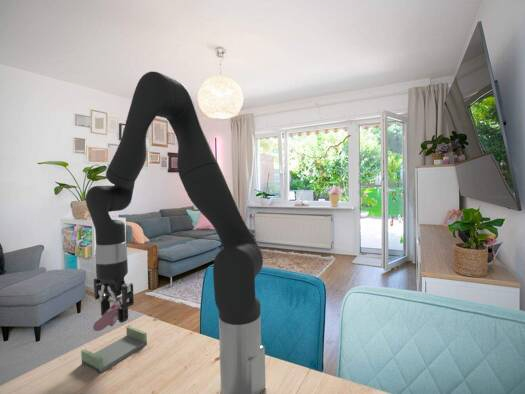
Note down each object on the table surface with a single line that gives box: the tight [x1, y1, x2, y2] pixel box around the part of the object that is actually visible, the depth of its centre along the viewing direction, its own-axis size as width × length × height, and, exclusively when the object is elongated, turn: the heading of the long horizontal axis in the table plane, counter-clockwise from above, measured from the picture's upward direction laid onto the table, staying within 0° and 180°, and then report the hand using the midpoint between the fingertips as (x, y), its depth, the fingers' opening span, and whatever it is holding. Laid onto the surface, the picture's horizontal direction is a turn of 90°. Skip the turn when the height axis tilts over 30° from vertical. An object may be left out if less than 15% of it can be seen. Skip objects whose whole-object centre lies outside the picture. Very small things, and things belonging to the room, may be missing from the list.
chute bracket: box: [80, 325, 148, 374], centre depth 74 cm, size 8×14×4 cm, turn 151°
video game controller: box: [92, 299, 131, 332], centre depth 74 cm, size 10×5×7 cm, turn 176°
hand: (114, 317), depth 74 cm, fingers closed on video game controller, 7 cm apart
